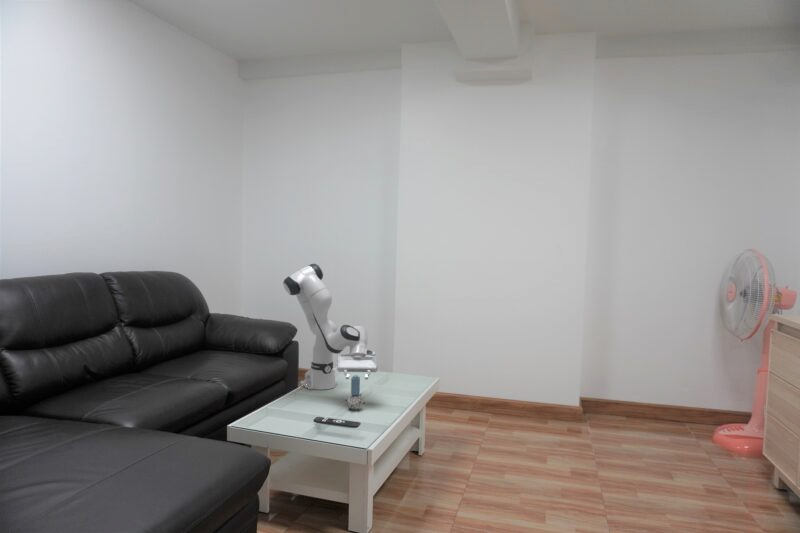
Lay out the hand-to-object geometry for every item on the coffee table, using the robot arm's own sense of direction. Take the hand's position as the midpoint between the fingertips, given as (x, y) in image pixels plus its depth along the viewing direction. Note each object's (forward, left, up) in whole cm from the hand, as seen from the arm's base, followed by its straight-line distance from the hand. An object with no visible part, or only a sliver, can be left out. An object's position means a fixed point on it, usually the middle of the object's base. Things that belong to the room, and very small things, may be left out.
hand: (356, 378), depth 270 cm
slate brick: (+1, -1, -7) cm, 7 cm away
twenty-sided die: (+1, -1, -15) cm, 15 cm away
